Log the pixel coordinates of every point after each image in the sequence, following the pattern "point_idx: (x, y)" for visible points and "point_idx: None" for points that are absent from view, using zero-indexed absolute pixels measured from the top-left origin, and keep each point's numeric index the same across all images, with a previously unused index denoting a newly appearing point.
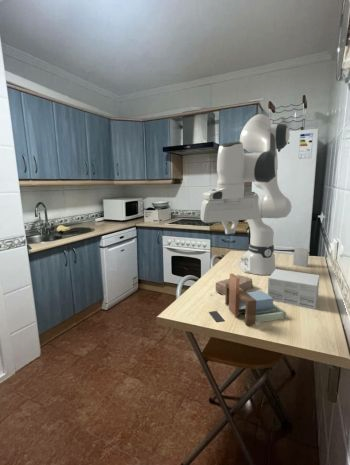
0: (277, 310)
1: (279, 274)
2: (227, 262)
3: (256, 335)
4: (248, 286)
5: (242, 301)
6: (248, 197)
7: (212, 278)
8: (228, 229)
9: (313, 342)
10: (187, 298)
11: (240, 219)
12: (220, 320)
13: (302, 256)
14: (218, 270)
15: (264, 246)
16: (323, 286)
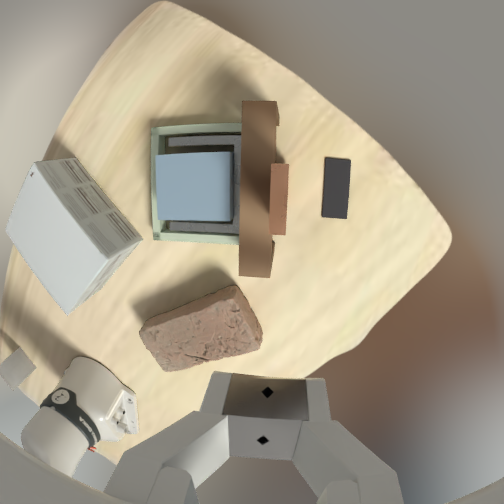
0: (160, 151)
1: (71, 270)
2: None
3: (278, 73)
4: (160, 316)
5: None
6: None
7: None
8: (309, 415)
9: (173, 32)
10: (361, 316)
11: (57, 479)
12: (337, 161)
13: (12, 365)
14: None
15: (59, 413)
16: (18, 257)
